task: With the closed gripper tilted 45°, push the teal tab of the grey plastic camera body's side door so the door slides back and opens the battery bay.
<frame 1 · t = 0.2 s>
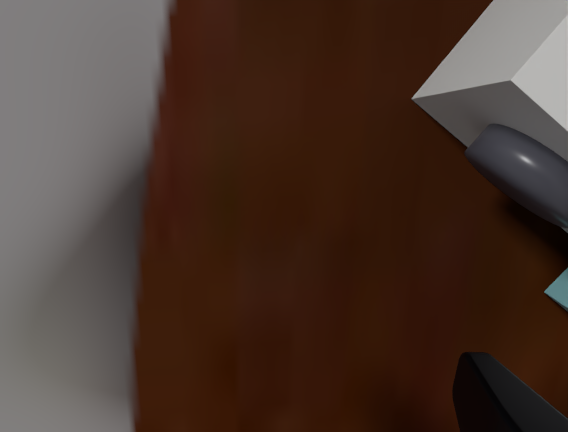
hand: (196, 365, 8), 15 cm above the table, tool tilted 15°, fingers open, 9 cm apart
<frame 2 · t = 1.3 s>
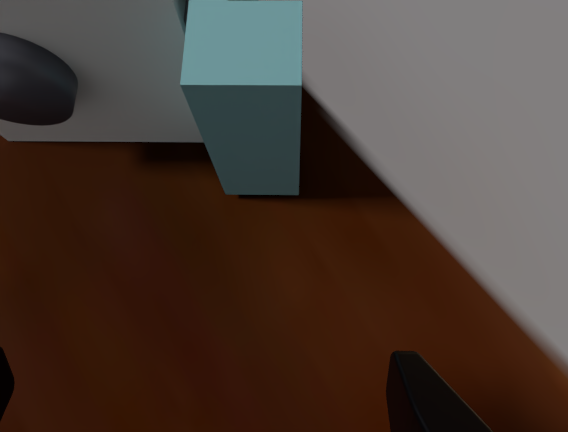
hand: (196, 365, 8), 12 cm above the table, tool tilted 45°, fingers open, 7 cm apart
side door: (259, 34, 19), point 5 cm above the table, slide at 0.0 cm
camera body: (130, 28, 25), on the table
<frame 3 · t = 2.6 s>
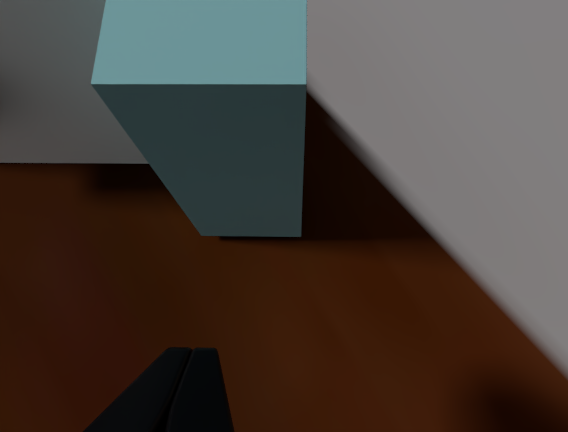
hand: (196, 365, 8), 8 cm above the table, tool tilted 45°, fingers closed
side door: (244, 14, 13), point 5 cm above the table, slide at 0.0 cm
camera body: (85, 16, 20), on the table
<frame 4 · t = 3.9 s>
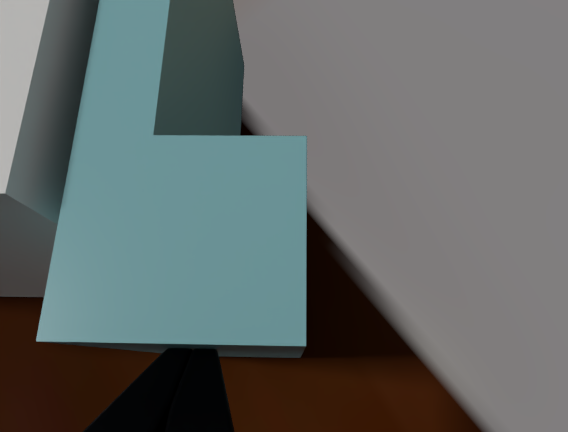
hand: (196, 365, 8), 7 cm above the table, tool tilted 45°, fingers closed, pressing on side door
side door: (236, 133, 12), point 5 cm above the table, slide at 1.2 cm, touching gripper
camera body: (61, 119, 18), on the table
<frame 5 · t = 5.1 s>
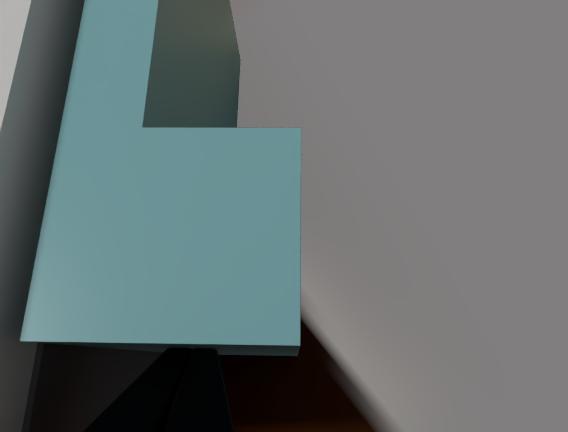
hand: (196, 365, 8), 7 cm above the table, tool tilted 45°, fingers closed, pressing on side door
side door: (231, 128, 12), point 5 cm above the table, slide at 5.2 cm, touching gripper
camera body: (36, 212, 16), on the table
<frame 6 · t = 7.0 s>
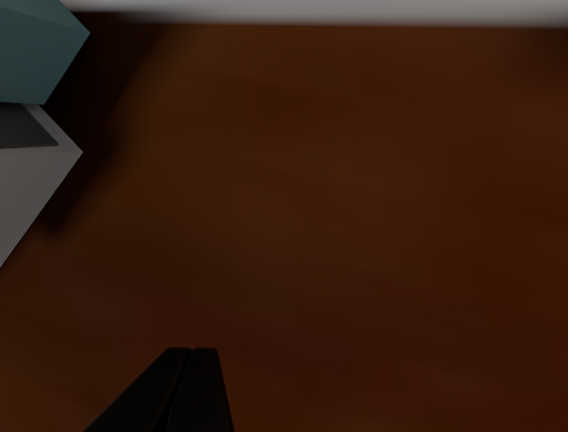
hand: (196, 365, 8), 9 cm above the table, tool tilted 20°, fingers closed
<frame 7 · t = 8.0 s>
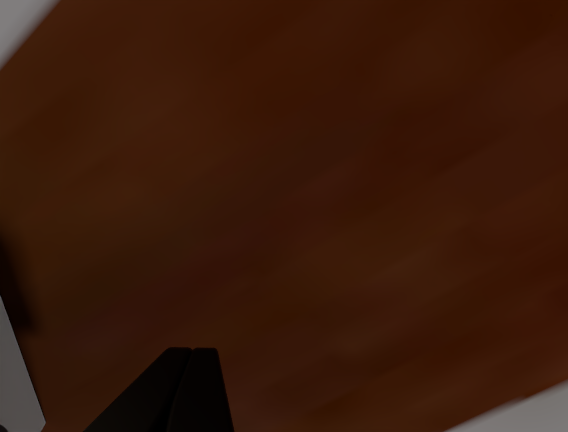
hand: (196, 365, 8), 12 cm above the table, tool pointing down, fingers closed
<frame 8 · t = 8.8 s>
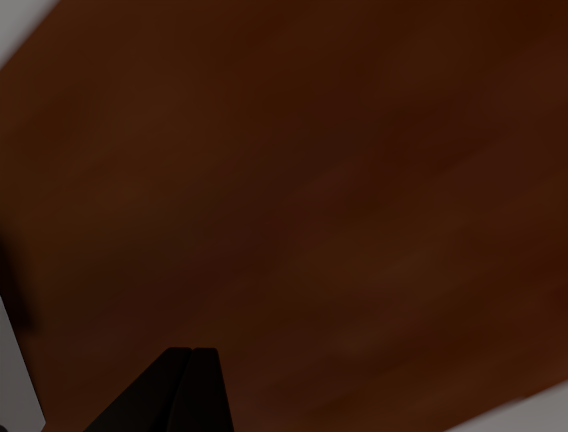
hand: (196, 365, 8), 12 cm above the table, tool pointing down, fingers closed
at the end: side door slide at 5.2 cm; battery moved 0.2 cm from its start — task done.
